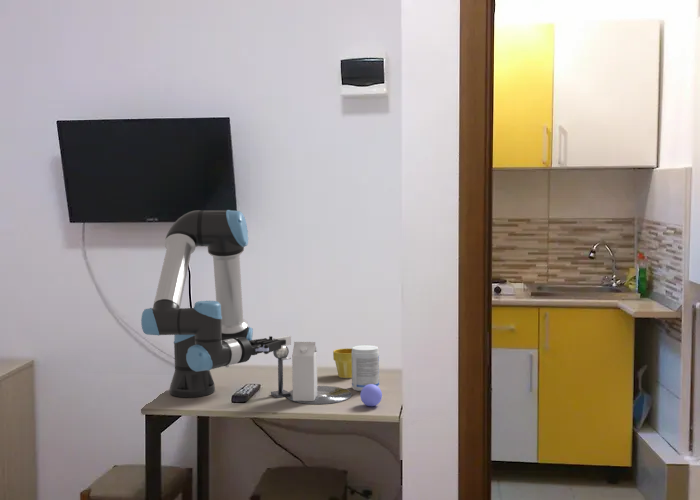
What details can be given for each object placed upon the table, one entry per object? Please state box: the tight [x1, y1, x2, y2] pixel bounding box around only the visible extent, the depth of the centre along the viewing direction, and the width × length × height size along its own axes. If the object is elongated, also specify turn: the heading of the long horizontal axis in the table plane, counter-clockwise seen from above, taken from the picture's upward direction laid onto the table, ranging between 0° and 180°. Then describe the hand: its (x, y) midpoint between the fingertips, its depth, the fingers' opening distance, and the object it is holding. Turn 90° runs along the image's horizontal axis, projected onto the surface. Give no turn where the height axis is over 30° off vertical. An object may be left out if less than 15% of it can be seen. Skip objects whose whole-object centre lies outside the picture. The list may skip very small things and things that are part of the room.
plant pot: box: [332, 347, 352, 379], centre depth 271 cm, size 10×10×10 cm
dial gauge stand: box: [270, 345, 292, 399], centre depth 244 cm, size 5×6×18 cm
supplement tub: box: [351, 344, 380, 392], centre depth 253 cm, size 10×10×15 cm
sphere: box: [359, 384, 383, 407], centre depth 232 cm, size 7×7×7 cm
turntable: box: [286, 385, 353, 405], centre depth 245 cm, size 22×22×1 cm
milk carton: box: [291, 341, 318, 402], centre depth 239 cm, size 7×7×19 cm
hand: (289, 340), depth 232 cm, fingers closed
